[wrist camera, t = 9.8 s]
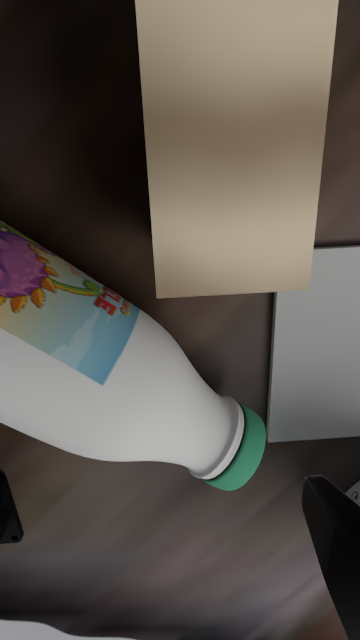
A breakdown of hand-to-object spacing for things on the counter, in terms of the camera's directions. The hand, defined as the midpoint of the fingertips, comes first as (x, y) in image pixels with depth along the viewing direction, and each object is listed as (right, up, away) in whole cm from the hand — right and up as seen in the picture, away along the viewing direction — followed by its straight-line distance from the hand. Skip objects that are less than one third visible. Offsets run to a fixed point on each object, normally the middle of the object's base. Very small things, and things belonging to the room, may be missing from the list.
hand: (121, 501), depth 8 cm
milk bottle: (-12, +7, +6) cm, 15 cm away
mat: (+12, +2, +13) cm, 18 cm away
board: (+3, +11, +5) cm, 12 cm away
